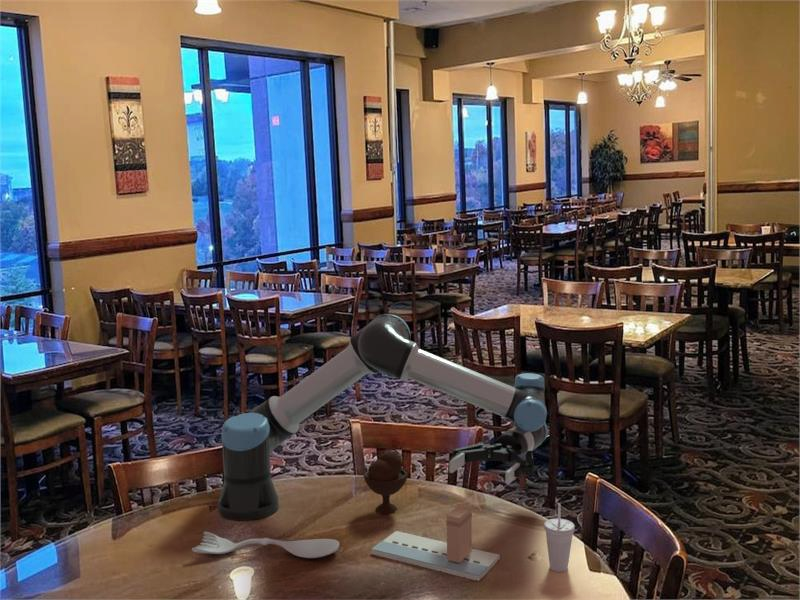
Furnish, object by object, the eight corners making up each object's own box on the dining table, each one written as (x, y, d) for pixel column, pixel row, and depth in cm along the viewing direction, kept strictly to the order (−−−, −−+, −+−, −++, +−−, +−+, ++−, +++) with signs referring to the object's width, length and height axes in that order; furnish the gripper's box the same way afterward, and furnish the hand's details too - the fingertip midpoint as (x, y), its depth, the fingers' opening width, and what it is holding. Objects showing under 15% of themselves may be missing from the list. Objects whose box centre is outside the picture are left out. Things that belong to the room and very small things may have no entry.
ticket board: (371, 554, 176) (371, 548, 176) (396, 534, 185) (396, 530, 185) (478, 581, 163) (478, 575, 163) (499, 559, 173) (499, 554, 172)
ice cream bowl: (381, 498, 208) (380, 442, 205) (416, 507, 201) (415, 450, 199) (355, 511, 199) (354, 454, 197) (391, 522, 193) (390, 462, 190)
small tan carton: (446, 559, 169) (446, 515, 168) (459, 548, 175) (458, 505, 173) (459, 563, 168) (459, 518, 166) (471, 551, 173) (471, 507, 172)
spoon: (204, 543, 183) (203, 529, 183) (342, 546, 181) (341, 531, 180) (191, 562, 174) (191, 547, 174) (336, 564, 172) (335, 549, 171)
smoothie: (572, 561, 171) (573, 499, 169) (575, 575, 165) (577, 511, 163) (542, 560, 172) (542, 498, 170) (544, 574, 166) (545, 510, 164)
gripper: (562, 469, 189) (531, 499, 171) (467, 451, 201) (428, 478, 183) (563, 439, 188) (532, 466, 170) (467, 423, 200) (428, 446, 182)
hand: (478, 472), depth 176 cm, fingers open, 13 cm apart
